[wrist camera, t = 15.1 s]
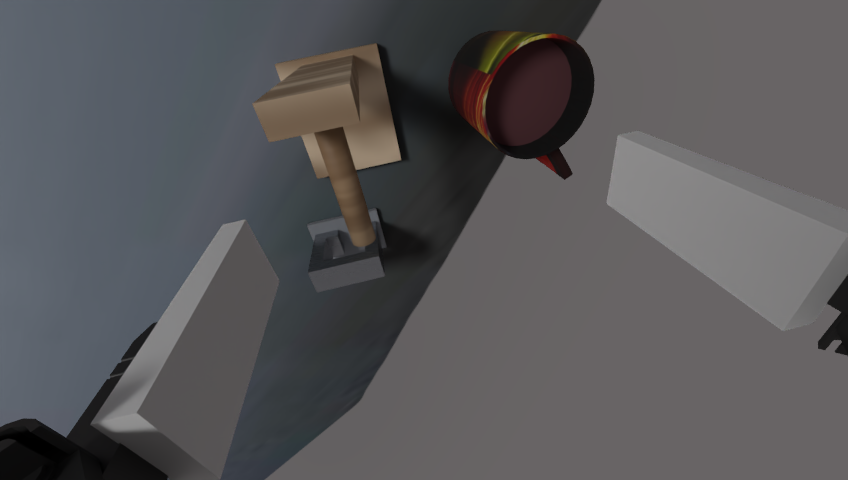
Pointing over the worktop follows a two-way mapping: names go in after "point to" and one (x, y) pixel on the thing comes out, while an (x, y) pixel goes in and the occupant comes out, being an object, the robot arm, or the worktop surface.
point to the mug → (524, 92)
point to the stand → (336, 122)
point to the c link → (343, 262)
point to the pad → (344, 231)
